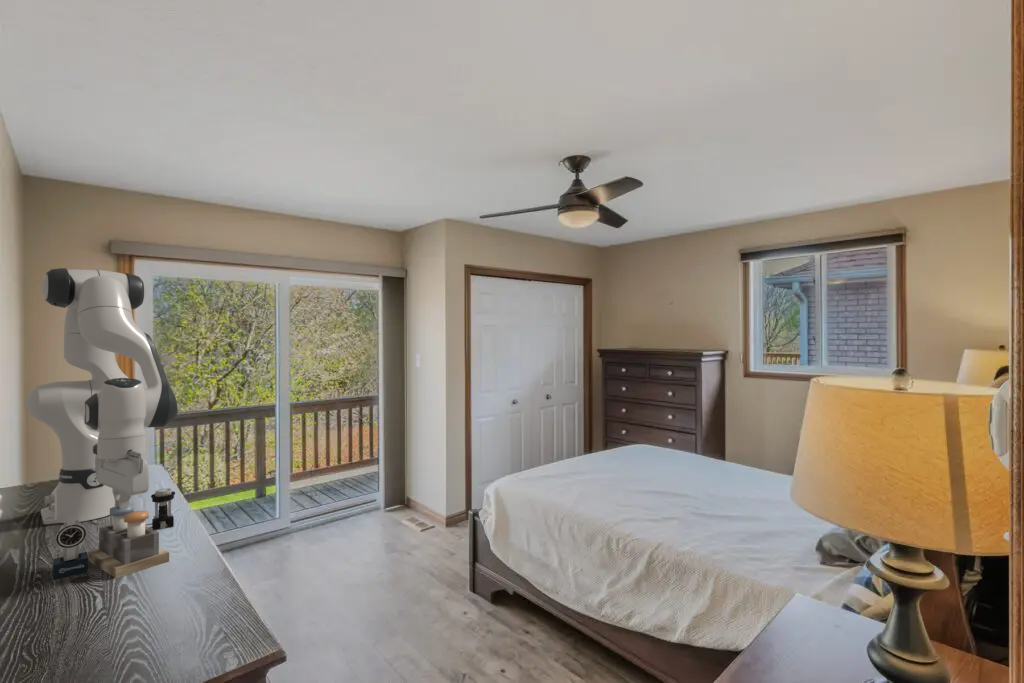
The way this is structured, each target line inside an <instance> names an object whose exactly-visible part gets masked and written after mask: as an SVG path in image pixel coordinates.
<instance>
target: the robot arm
mask: <svg viewBox="0 0 1024 683" xmlns="http://www.w3.org/2000/svg"><path fill="white" fill-rule="evenodd" d="M40 285H41V286H40V288H41V293H42V295H43V297H44V299H45V302H47V303H48V304H49V305H51V306H54V307H59V308H63V309H65V308H67V309H66V313H65V318H64V330H63V332H64V333H63V358H64V360H65V361H66V362H67V364H69V365H70V366H73V367H75V368H77V369H81V370H83V371H86V372H89V374H90V375H91V379H89V380H69V381H68V380H67V381H55V382H49V383H44V384H39V385H36V386H34V387H33V388H32V389H31V390H30V392H29V393H28V395H27V396H26V400H25V405H26V410H27V412H28V413H29V414H30V416H32V417H33V418H34V419H35V420H37V421H40V422H41V423H44V424H45V425H46V426H48V427H49V428H50V429H51V430H53V431H54V433H55V435H56V436H57V437H58V441H59V443H60V450H61V468H60V470H59V473H58V484H57V485H56V487H55V488H54V489H53V490H52V492H51V494H50V495H46V496H44V505H49V506H47V507H45V508H41V510H40V516H41V521H42V524H43V525H53V524H64V522H69V521H74V520H78V522H87V521H92V520H97V519H100V518H101V519H102V518H104V517H107V516H111V515H110V508H112V507H115V506H116V507H118V508H120V509H124V508H128V507H129V504H130V499H131V496H137V495H140V494H141V495H142V494H145V493H148V491H149V489H150V474H149V463H148V460H146V459H145V458H143V457H142V456H143V455H145V454H146V453H147V430H146V428H164V427H166V426H168V424H170V423H172V421H173V420H175V418H176V417H177V414H178V411H179V410H178V409H179V405H178V401H177V398H176V396H175V393H174V391H173V389H172V388H171V386H170V383H169V380H168V378H167V375H166V372H165V370H164V366H163V364H162V362H161V359H160V356H159V352H158V351H157V348H156V346H155V344H154V341H153V339H152V337H151V336H150V334H147V333H146V332H144V331H143V330H141V329H140V327H138V325H137V324H136V322H135V320H134V317H133V312H132V311H133V310H136V309H137V308H139V307H140V306H142V305H143V303H144V300H145V298H146V293H147V292H146V286H145V283H144V281H143V279H142V278H141V277H140V276H138V275H136V274H134V273H133V274H131V273H127V272H125V273H122V272H116V271H110V270H105V269H104V270H103V269H102V270H101V269H81V268H80V269H79V268H78V269H77V268H76V269H73V268H72V269H67V267H62V268H59V267H58V268H51V269H49V270H48V271H46V273H45V275H44V276H43V278H42V281H41V284H40ZM116 354H118V355H121V356H124V357H126V358H129V359H132V360H133V361H135V362H136V363H137V364H138V365H139V367H140V370H141V373H142V375H143V379H144V381H145V384H146V387H147V388H146V389H145V387H144V383H143V381H141V380H139V379H137V378H130V377H129V376H127V375H126V374H125V373H124V372H123V371H122V370H121V368H120V366H119V365H118V362H117V359H116ZM50 504H51V505H50Z"/></svg>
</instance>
